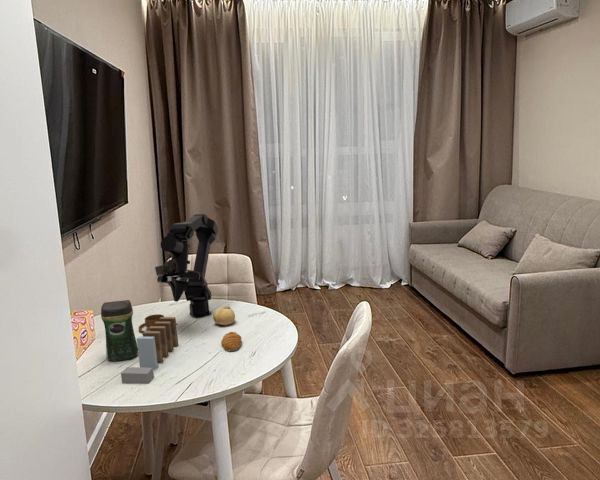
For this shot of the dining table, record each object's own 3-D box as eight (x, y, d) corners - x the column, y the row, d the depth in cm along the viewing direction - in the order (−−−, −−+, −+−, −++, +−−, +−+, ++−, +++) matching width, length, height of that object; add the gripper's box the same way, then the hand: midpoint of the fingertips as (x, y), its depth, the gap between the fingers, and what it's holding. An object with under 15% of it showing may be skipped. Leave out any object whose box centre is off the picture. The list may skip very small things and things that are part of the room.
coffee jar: (139, 349, 177) (133, 296, 174) (136, 359, 170) (130, 303, 166) (109, 353, 176) (102, 299, 172) (105, 363, 168) (97, 307, 164)
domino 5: (159, 350, 176) (156, 321, 174) (173, 350, 175) (170, 321, 173) (157, 352, 175) (153, 323, 173) (171, 352, 174) (168, 323, 172)
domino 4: (164, 345, 180) (161, 317, 178) (178, 345, 179) (175, 317, 177) (162, 347, 179) (159, 318, 177) (176, 347, 178) (173, 318, 176)
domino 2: (148, 361, 168) (144, 331, 166) (163, 361, 167) (160, 331, 165) (146, 363, 166) (142, 333, 164) (161, 363, 166) (158, 333, 164)
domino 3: (153, 355, 172) (150, 326, 170) (168, 355, 171) (165, 326, 169) (151, 357, 170) (148, 328, 168) (166, 357, 170) (163, 328, 168)
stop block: (128, 376, 158) (127, 367, 157) (154, 377, 157) (152, 367, 156) (122, 382, 154) (120, 373, 153) (148, 383, 153) (147, 373, 152)
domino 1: (142, 367, 164) (138, 336, 162) (158, 367, 163) (154, 336, 161) (140, 369, 162) (136, 338, 160) (155, 369, 161) (152, 338, 159)
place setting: (137, 341, 187) (135, 325, 186) (119, 326, 203) (117, 311, 202) (184, 328, 197) (182, 313, 195) (163, 315, 213) (161, 300, 211)
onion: (220, 329, 192) (219, 310, 191) (209, 324, 198) (208, 305, 197) (239, 323, 197) (238, 305, 195) (228, 318, 203) (226, 300, 202)
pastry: (243, 351, 172) (242, 340, 171) (222, 354, 171) (221, 342, 170) (241, 340, 181) (240, 329, 180) (221, 343, 180) (220, 332, 179)
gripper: (146, 257, 191) (141, 300, 188) (174, 250, 178) (170, 297, 175) (173, 262, 199) (169, 303, 195) (202, 256, 186) (198, 300, 182)
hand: (176, 301), depth 187 cm, fingers closed
